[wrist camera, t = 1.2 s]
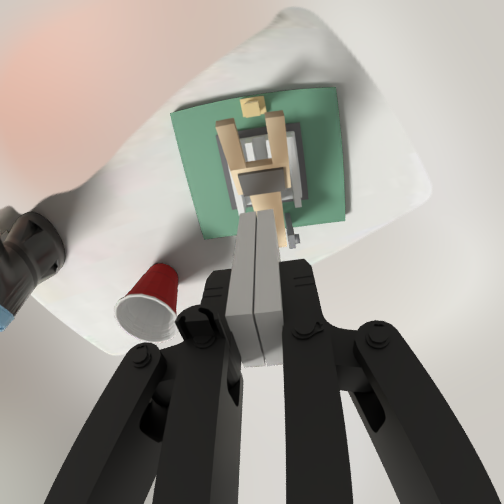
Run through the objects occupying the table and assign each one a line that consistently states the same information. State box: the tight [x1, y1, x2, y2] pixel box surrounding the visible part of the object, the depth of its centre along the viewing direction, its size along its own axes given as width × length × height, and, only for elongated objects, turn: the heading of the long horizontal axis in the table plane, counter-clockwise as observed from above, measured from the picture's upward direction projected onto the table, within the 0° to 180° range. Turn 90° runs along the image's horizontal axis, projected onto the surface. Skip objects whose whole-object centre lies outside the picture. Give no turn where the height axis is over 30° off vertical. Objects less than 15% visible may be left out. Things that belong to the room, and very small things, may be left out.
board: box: [170, 87, 345, 249], centre depth 33 cm, size 22×20×9 cm
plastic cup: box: [114, 263, 178, 343], centre depth 44 cm, size 11×11×12 cm
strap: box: [215, 110, 291, 247], centre depth 28 cm, size 5×20×1 cm, turn 10°
